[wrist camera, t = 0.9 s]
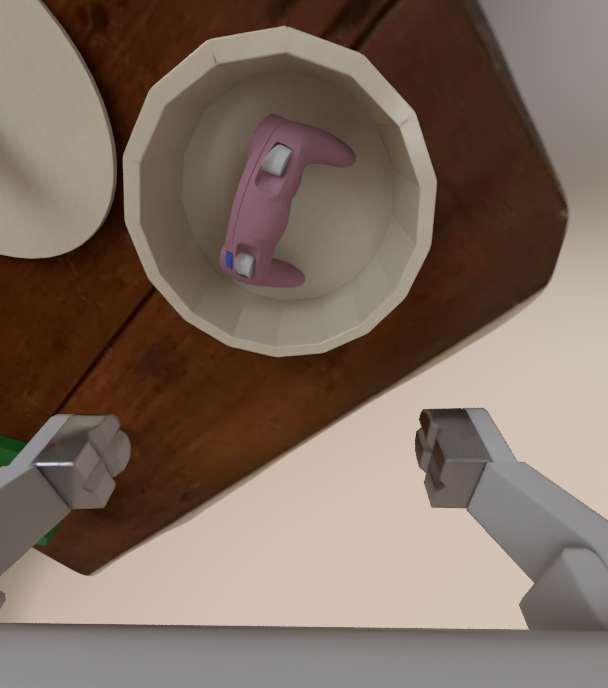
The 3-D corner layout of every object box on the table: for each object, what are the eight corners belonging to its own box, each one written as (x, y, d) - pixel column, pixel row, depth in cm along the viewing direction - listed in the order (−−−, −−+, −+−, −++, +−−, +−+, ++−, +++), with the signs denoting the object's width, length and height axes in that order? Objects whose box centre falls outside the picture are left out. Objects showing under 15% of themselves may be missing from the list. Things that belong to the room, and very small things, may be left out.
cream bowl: (409, 33, 18) (455, -5, 12) (399, 295, 27) (422, 344, 21) (133, 79, 19) (58, 65, 14) (209, 314, 28) (183, 365, 22)
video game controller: (304, 119, 21) (237, 90, 15) (366, 149, 20) (320, 131, 14) (258, 259, 26) (196, 277, 21) (306, 288, 25) (254, 316, 20)
